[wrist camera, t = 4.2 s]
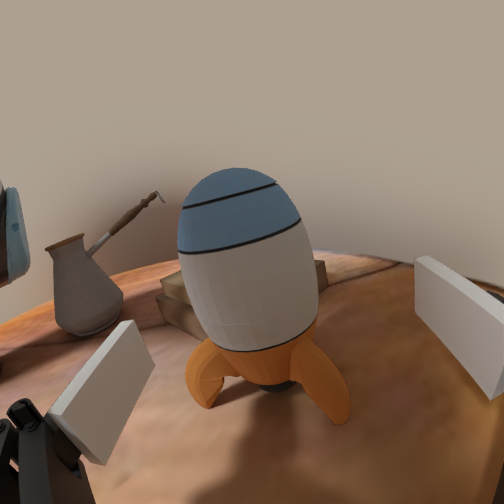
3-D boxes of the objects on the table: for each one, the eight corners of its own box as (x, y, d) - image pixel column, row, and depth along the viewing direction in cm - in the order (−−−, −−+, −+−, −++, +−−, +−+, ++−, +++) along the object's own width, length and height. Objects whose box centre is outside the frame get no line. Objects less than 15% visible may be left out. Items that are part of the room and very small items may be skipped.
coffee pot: (54, 350, 29) (10, 245, 26) (77, 317, 40) (45, 233, 36) (196, 309, 33) (158, 187, 30) (191, 281, 44) (163, 189, 40)
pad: (163, 319, 33) (149, 282, 31) (246, 274, 41) (237, 241, 40) (234, 357, 22) (216, 305, 21) (328, 285, 31) (321, 243, 29)
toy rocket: (285, 341, 24) (289, 164, 20) (382, 404, 16) (433, 177, 11) (178, 387, 19) (144, 174, 14) (264, 495, 11) (267, 179, 6)
